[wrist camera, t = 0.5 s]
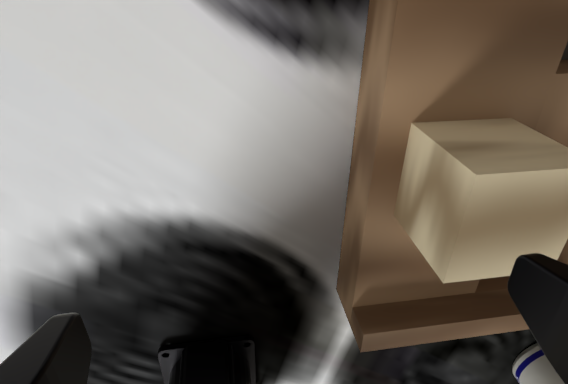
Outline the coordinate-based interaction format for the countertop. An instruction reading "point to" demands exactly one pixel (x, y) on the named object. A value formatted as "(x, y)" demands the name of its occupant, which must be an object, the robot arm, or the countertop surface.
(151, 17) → the countertop surface
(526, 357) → the energy drink
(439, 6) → the trap box
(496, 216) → the maple cube
